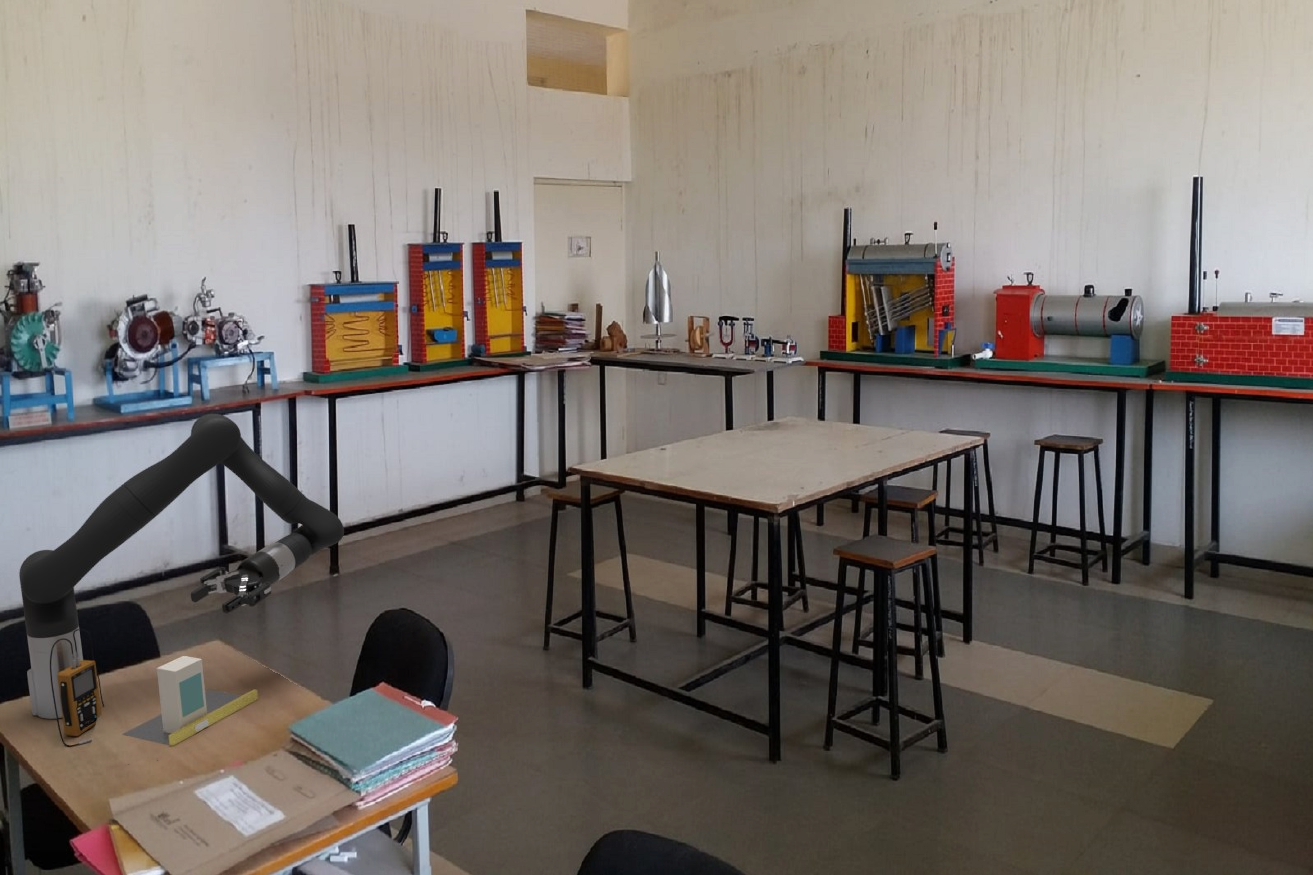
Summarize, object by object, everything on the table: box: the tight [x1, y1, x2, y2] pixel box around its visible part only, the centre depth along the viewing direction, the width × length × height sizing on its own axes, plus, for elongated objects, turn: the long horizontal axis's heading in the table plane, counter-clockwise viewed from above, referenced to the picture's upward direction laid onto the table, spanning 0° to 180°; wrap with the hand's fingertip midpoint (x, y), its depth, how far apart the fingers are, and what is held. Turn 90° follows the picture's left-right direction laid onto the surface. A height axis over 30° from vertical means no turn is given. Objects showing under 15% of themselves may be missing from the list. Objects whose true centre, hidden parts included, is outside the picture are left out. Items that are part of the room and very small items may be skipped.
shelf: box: [122, 689, 259, 747], centre depth 213 cm, size 13×22×4 cm, turn 157°
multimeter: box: [50, 628, 105, 748], centre depth 209 cm, size 15×10×20 cm
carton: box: [156, 655, 207, 733], centre depth 207 cm, size 5×6×13 cm
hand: (208, 603), depth 214 cm, fingers open, 8 cm apart
